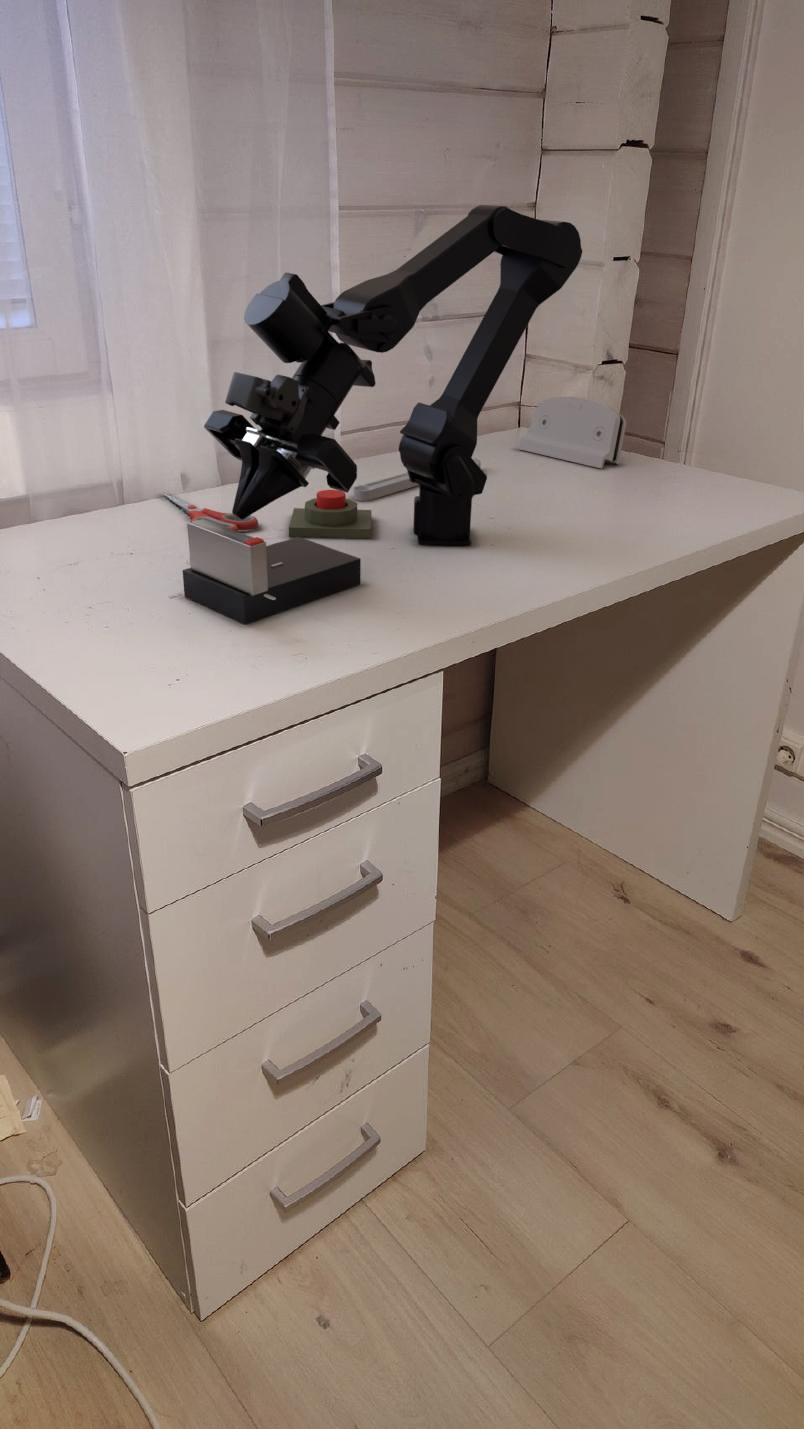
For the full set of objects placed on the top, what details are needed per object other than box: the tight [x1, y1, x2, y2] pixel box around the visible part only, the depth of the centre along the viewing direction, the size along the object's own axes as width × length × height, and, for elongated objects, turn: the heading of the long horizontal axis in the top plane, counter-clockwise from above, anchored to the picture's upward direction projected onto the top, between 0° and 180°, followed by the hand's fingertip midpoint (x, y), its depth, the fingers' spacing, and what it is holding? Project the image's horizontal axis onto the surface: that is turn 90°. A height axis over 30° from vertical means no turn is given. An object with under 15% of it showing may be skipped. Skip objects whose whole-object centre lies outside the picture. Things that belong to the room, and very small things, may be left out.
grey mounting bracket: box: [518, 396, 627, 469], centre depth 161 cm, size 17×5×10 cm, turn 47°
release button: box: [316, 489, 347, 509], centre depth 125 cm, size 4×4×2 cm
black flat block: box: [168, 537, 362, 625], centre depth 105 cm, size 14×22×3 cm, turn 137°
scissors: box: [162, 492, 259, 532], centre depth 129 cm, size 8×21×2 cm, turn 48°
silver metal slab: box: [186, 519, 268, 596], centre depth 100 cm, size 10×2×5 cm, turn 47°
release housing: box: [288, 497, 373, 539], centre depth 126 cm, size 10×8×3 cm
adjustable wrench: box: [352, 458, 482, 502], centre depth 146 cm, size 25×6×2 cm, turn 133°
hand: (236, 516), depth 104 cm, fingers closed
